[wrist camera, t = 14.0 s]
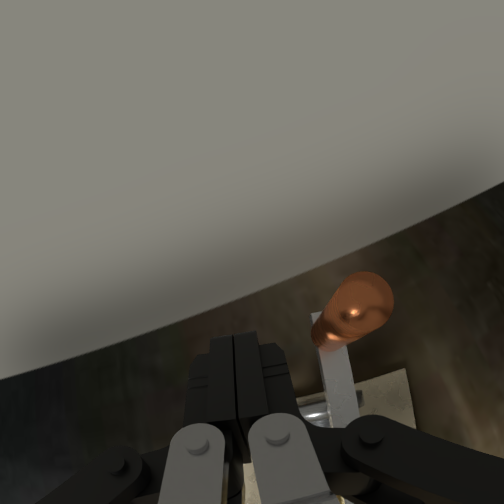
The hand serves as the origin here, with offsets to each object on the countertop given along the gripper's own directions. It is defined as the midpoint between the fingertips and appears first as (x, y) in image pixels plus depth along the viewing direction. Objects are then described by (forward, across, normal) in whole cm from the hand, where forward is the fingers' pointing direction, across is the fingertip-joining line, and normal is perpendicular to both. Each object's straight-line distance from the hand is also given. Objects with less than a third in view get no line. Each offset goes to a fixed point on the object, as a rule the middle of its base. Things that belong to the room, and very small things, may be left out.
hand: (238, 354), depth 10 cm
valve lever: (+3, -5, +11) cm, 13 cm away
